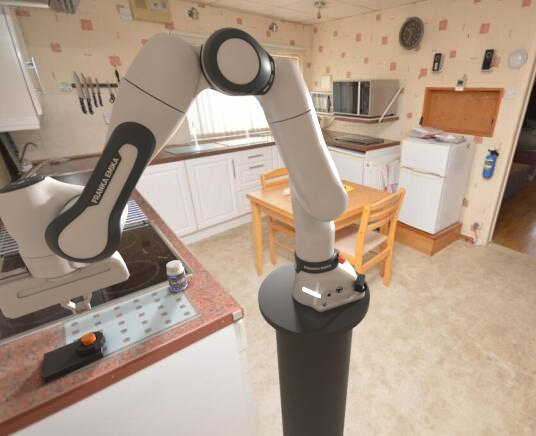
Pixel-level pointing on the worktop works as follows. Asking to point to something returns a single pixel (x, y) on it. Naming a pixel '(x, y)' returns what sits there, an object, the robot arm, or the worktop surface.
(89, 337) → the tare button
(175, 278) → the pill bottle
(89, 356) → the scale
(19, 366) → the worktop surface
